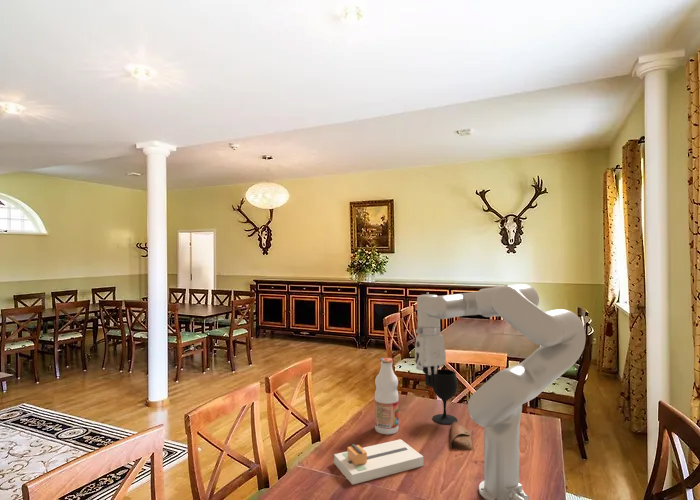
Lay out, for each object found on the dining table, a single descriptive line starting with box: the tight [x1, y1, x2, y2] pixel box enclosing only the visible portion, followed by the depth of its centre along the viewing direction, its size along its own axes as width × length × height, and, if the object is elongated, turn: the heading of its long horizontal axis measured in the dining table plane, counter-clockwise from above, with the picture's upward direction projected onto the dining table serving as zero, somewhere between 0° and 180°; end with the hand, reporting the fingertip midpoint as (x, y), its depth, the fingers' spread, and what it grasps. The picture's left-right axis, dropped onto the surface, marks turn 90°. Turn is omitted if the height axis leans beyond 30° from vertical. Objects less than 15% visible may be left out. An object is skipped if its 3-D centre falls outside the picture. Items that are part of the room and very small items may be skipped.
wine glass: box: [432, 368, 458, 426], centre depth 173 cm, size 10×10×20 cm
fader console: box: [333, 438, 425, 486], centre depth 137 cm, size 26×14×3 cm, turn 115°
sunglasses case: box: [450, 421, 475, 452], centre depth 155 cm, size 18×7×7 cm
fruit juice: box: [374, 357, 400, 435], centre depth 163 cm, size 9×9×28 cm
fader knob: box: [346, 443, 367, 465], centre depth 133 cm, size 4×6×4 cm, turn 25°
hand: (430, 385), depth 140 cm, fingers closed
